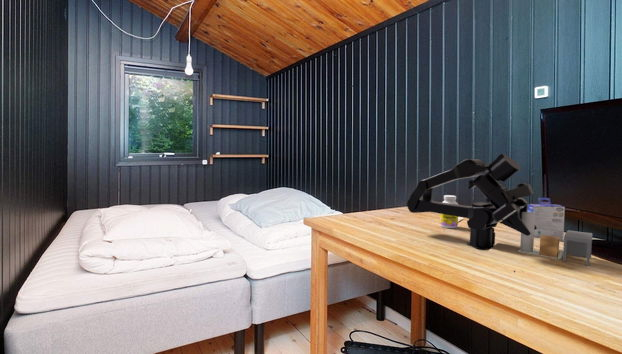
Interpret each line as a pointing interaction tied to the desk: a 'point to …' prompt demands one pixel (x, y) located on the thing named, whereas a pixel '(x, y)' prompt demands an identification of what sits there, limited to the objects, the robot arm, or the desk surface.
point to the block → (549, 246)
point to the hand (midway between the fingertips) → (532, 232)
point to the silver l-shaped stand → (531, 236)
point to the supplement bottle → (449, 220)
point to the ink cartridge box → (548, 219)
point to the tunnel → (577, 245)
